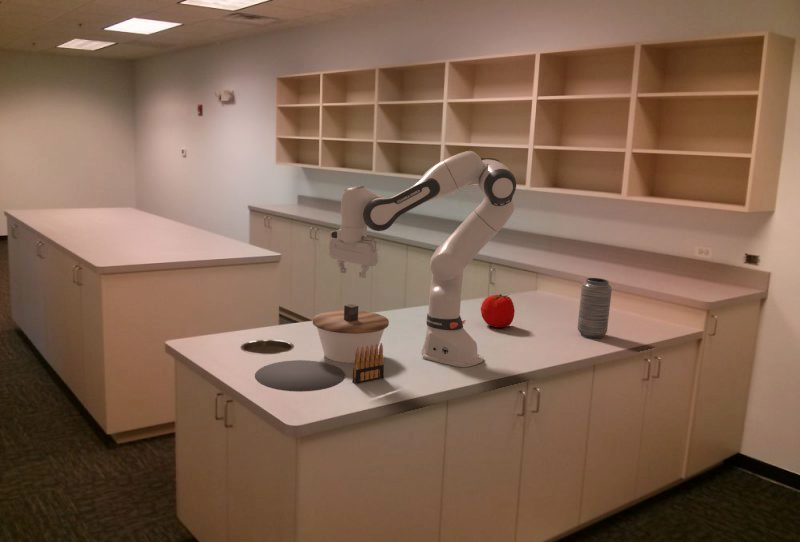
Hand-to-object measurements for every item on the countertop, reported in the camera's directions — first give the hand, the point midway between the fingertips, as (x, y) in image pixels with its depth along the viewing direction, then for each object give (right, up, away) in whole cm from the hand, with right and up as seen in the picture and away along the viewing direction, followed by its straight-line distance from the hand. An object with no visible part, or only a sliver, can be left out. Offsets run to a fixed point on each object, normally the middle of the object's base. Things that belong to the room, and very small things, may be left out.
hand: (352, 275), depth 231 cm
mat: (-15, -32, -17) cm, 39 cm away
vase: (+94, -25, +46) cm, 107 cm away
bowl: (-1, -28, +6) cm, 29 cm away
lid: (-1, -16, +3) cm, 17 cm away
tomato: (+56, -22, +53) cm, 80 cm away
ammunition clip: (+6, -33, -18) cm, 38 cm away
